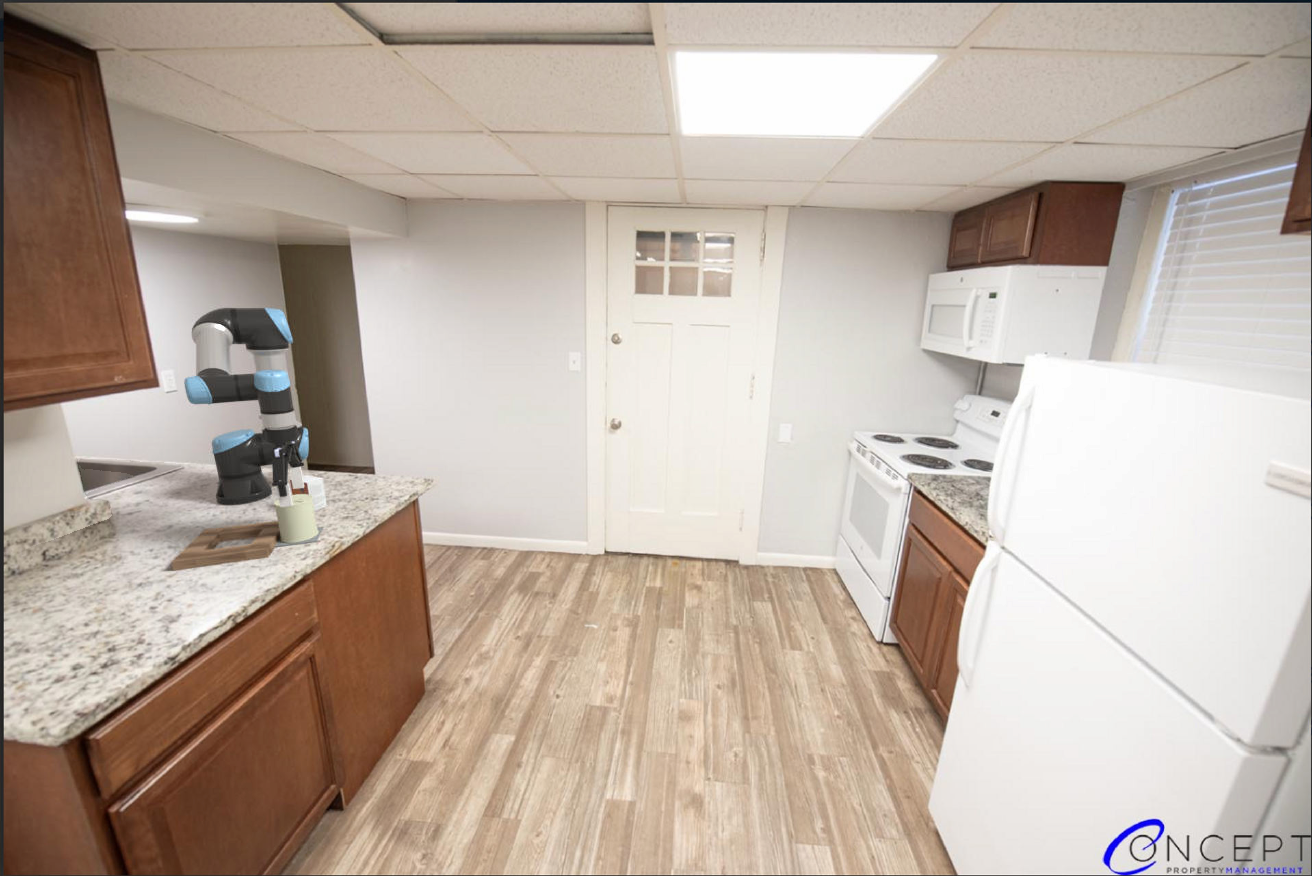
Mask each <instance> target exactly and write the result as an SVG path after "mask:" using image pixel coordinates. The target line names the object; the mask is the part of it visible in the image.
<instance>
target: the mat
mask: <svg viewBox="0 0 1312 876" xmlns="http://www.w3.org/2000/svg"><path fill="white" fill-rule="evenodd" d="M324 528H325V527H324V526H319V527H318V526H317V529H318V531H319V533H318V534H317V535H316V536H315V537H313V538H311V539H309V540H306V541H302V542H297V543H284V542H282V541H281V537H280V539H279V540H278V542H277V543H276V545H275V548H281V547H289V546H296V545H304V544H310V543H317V542H318V540H319V538H320V536H321V533H322V532H323V530H324Z"/></svg>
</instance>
